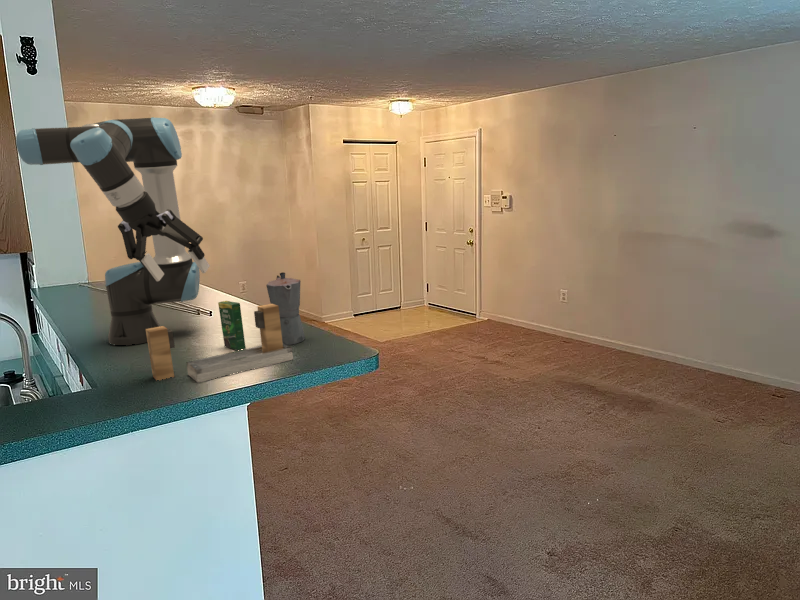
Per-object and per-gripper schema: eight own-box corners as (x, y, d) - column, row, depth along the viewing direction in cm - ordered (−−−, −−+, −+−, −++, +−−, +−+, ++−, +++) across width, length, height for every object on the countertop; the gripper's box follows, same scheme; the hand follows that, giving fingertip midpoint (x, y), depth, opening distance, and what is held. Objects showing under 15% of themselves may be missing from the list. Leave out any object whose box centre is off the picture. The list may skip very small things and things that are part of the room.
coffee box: (223, 346, 165) (217, 301, 162) (232, 344, 166) (226, 299, 164) (236, 351, 159) (230, 304, 156) (246, 349, 161) (240, 302, 158)
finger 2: (258, 353, 149) (252, 307, 146) (277, 348, 152) (272, 303, 149) (264, 356, 145) (258, 309, 143) (283, 351, 148) (278, 305, 146)
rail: (188, 374, 141) (186, 362, 140) (280, 353, 154) (278, 341, 154) (197, 382, 135) (196, 369, 134) (293, 359, 148) (291, 347, 147)
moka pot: (279, 350, 158) (271, 277, 153) (264, 338, 171) (257, 271, 167) (313, 343, 162) (306, 272, 158) (296, 332, 175) (289, 266, 171)
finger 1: (152, 376, 141) (145, 329, 139) (175, 371, 144) (168, 325, 142) (156, 380, 138) (149, 332, 136) (179, 375, 141) (172, 327, 138)
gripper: (77, 218, 128) (134, 290, 140) (167, 197, 119) (219, 276, 132) (96, 200, 133) (149, 271, 146) (183, 178, 125) (232, 256, 137)
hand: (183, 273), depth 139 cm, fingers open, 13 cm apart
